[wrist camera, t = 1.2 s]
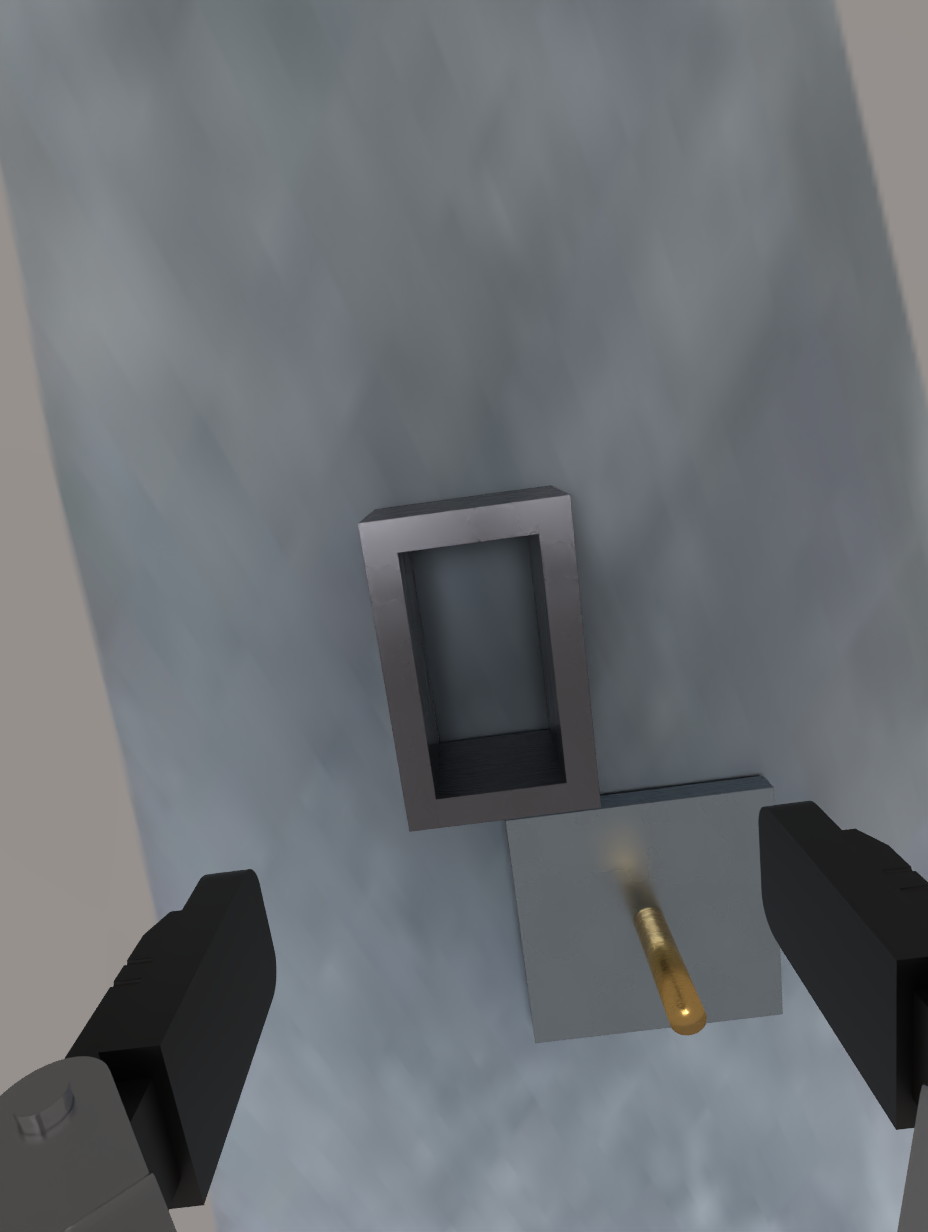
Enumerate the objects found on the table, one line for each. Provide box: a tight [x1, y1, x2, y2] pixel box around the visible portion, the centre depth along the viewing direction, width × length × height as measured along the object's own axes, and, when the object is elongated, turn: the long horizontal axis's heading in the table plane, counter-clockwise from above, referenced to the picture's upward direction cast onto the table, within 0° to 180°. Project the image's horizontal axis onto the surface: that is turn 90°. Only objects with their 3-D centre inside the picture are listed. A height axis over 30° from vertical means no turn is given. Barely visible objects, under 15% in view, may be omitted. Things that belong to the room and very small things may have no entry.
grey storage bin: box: [358, 486, 601, 831], centre depth 25 cm, size 10×6×4 cm, turn 8°
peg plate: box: [506, 776, 783, 1043], centre depth 27 cm, size 10×10×6 cm
